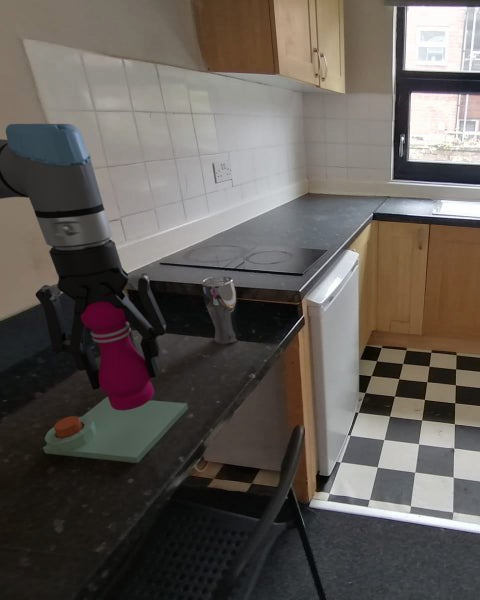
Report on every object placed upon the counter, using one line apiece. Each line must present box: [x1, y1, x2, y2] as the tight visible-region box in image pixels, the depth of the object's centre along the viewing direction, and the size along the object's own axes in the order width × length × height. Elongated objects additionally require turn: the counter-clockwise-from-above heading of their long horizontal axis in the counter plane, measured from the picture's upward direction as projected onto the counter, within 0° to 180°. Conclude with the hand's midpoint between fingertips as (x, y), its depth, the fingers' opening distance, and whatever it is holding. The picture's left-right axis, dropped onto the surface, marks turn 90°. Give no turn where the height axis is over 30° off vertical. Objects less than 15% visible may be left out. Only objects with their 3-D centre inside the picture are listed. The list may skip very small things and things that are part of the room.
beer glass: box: [200, 275, 243, 345], centre depth 94 cm, size 7×7×15 cm
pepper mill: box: [81, 302, 155, 410], centre depth 63 cm, size 7×7×20 cm
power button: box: [53, 415, 82, 438], centre depth 64 cm, size 3×3×2 cm
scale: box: [42, 396, 189, 464], centre depth 68 cm, size 16×14×3 cm
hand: (126, 378), depth 66 cm, fingers closed on pepper mill, 7 cm apart
